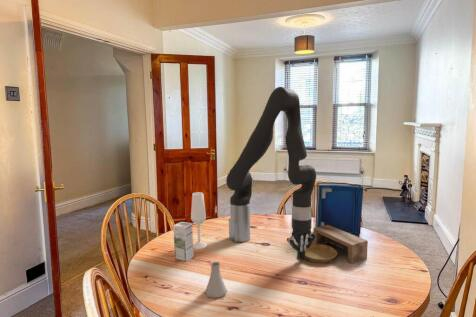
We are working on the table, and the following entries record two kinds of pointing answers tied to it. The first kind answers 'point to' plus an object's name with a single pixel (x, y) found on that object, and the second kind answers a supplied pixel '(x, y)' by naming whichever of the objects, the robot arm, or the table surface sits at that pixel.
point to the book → (339, 206)
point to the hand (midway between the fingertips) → (301, 259)
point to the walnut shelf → (342, 242)
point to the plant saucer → (320, 253)
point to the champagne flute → (198, 215)
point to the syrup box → (183, 241)
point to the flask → (215, 282)
